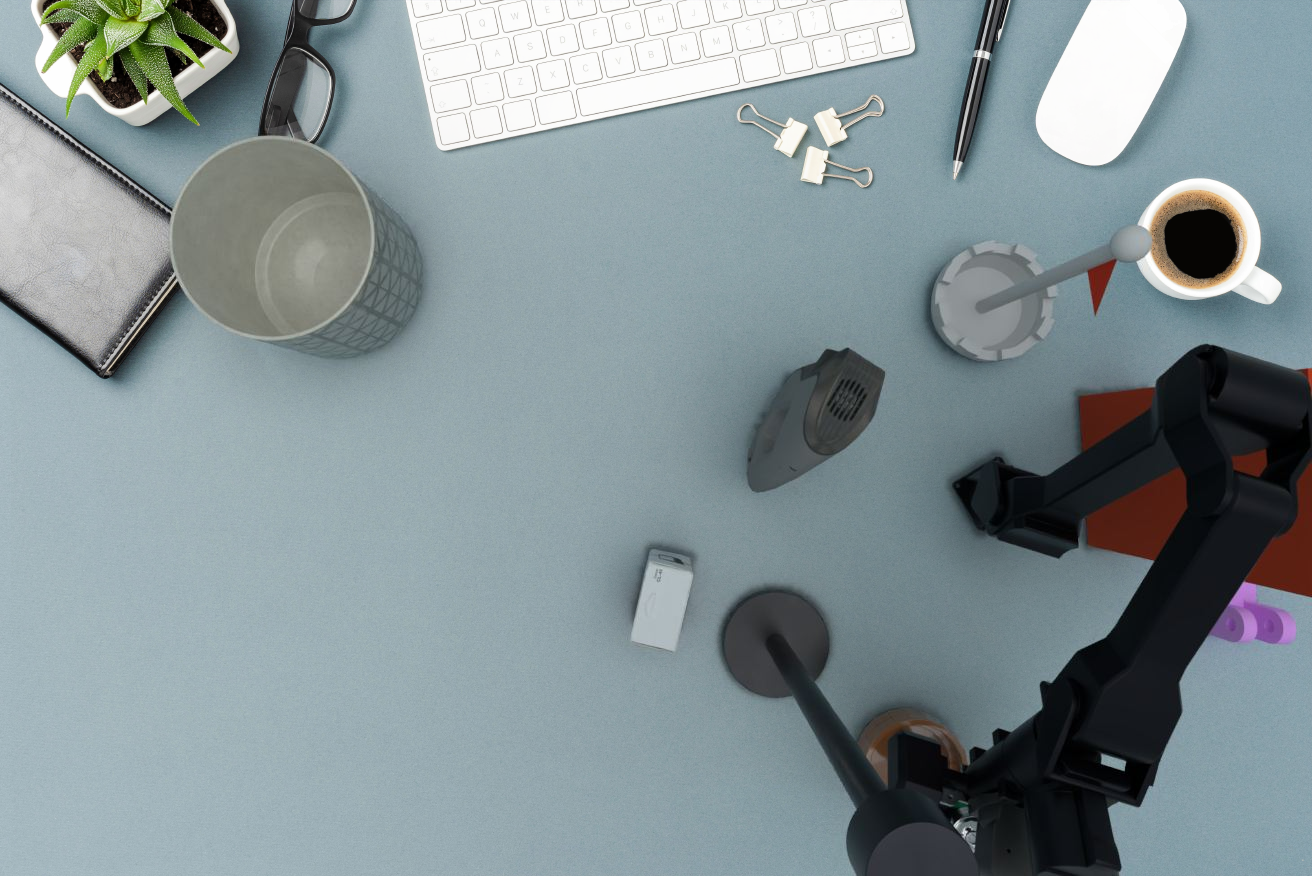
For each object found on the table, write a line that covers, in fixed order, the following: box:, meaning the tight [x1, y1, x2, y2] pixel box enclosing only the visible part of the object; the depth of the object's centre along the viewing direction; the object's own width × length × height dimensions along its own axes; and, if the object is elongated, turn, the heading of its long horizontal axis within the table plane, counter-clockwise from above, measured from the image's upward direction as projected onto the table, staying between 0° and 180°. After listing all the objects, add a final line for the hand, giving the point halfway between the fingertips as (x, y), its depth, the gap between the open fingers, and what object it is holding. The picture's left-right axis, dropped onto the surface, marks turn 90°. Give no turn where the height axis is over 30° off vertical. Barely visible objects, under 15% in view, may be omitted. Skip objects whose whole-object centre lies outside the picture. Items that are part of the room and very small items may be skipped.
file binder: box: [1078, 367, 1312, 598], centre depth 73 cm, size 8×17×32 cm, turn 3°
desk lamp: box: [722, 589, 980, 876], centre depth 64 cm, size 12×12×49 cm
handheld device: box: [746, 346, 886, 493], centre depth 77 cm, size 6×15×25 cm, turn 147°
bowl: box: [856, 707, 969, 788], centre depth 87 cm, size 12×12×4 cm
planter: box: [168, 135, 424, 360], centre depth 80 cm, size 19×19×18 cm
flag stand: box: [930, 224, 1153, 363], centre depth 74 cm, size 13×13×30 cm
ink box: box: [629, 548, 694, 653], centre depth 83 cm, size 9×5×12 cm, turn 167°
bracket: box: [1208, 582, 1297, 645], centre depth 86 cm, size 13×6×7 cm, turn 178°
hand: (946, 823), depth 76 cm, fingers closed on soda can, 5 cm apart
